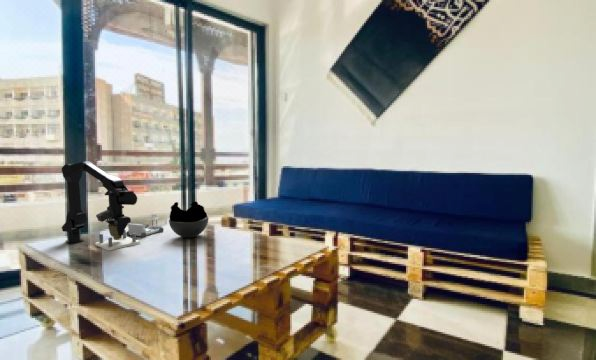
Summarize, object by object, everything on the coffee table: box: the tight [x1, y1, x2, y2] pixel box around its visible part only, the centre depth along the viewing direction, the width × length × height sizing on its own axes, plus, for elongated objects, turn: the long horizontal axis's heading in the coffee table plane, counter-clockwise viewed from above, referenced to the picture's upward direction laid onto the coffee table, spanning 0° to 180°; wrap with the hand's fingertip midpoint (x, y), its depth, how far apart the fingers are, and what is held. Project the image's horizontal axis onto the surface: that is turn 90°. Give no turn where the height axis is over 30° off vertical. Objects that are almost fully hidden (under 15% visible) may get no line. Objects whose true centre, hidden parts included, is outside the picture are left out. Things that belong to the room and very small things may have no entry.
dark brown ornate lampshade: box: [107, 223, 126, 240], centre depth 169 cm, size 8×7×8 cm
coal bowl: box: [168, 201, 209, 239], centre depth 181 cm, size 20×20×19 cm
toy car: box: [126, 213, 165, 239], centre depth 191 cm, size 18×10×12 cm
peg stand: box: [95, 229, 141, 251], centre depth 169 cm, size 15×15×5 cm
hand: (117, 235), depth 169 cm, fingers closed on dark brown ornate lampshade, 6 cm apart
